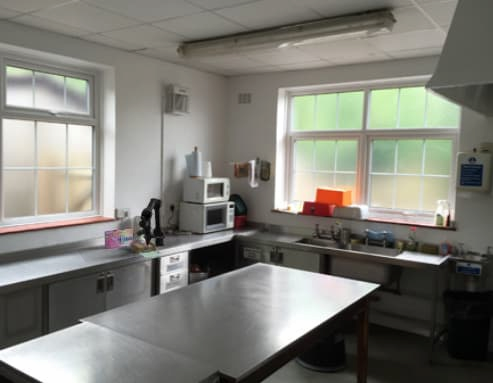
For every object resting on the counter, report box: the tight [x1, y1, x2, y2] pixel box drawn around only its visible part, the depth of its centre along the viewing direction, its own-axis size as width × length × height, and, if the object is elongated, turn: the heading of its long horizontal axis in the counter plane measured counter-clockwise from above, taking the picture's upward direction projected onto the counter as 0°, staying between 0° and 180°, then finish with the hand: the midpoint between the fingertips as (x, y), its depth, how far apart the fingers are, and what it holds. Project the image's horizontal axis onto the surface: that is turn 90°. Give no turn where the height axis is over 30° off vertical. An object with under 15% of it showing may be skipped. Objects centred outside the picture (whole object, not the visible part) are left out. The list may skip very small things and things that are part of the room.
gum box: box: [103, 227, 134, 250], centre depth 372 cm, size 24×8×14 cm, turn 137°
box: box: [129, 241, 157, 254], centre depth 357 cm, size 16×18×5 cm
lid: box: [138, 250, 162, 258], centre depth 341 cm, size 13×18×3 cm
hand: (147, 245), depth 346 cm, fingers closed
